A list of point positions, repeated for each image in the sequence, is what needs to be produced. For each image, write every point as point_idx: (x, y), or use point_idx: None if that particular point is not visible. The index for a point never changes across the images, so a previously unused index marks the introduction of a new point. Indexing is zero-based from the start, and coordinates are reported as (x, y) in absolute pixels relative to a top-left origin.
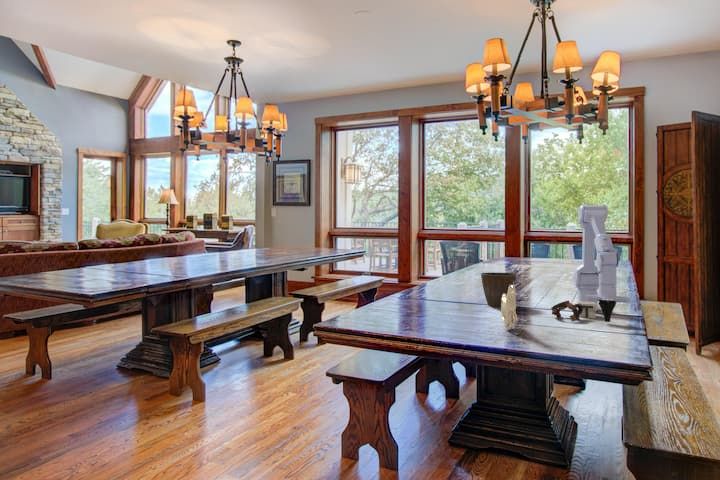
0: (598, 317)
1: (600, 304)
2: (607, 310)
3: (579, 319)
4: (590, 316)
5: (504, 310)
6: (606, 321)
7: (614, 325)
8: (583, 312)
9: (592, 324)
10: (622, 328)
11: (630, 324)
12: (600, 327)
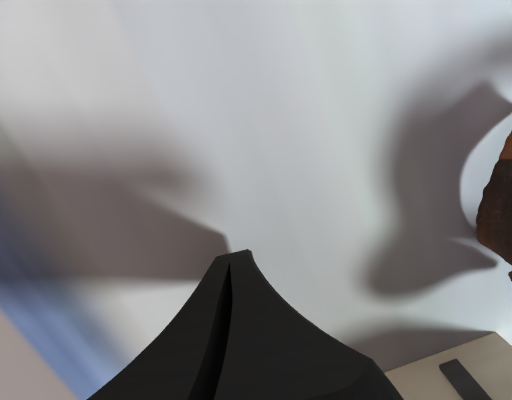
0: None
1: (342, 369)
2: (209, 328)
3: (481, 212)
4: (427, 381)
5: None
6: (237, 252)
7: (165, 240)
8: (505, 393)
9: (329, 142)
10: (19, 131)
11: (113, 366)
12: (193, 4)
